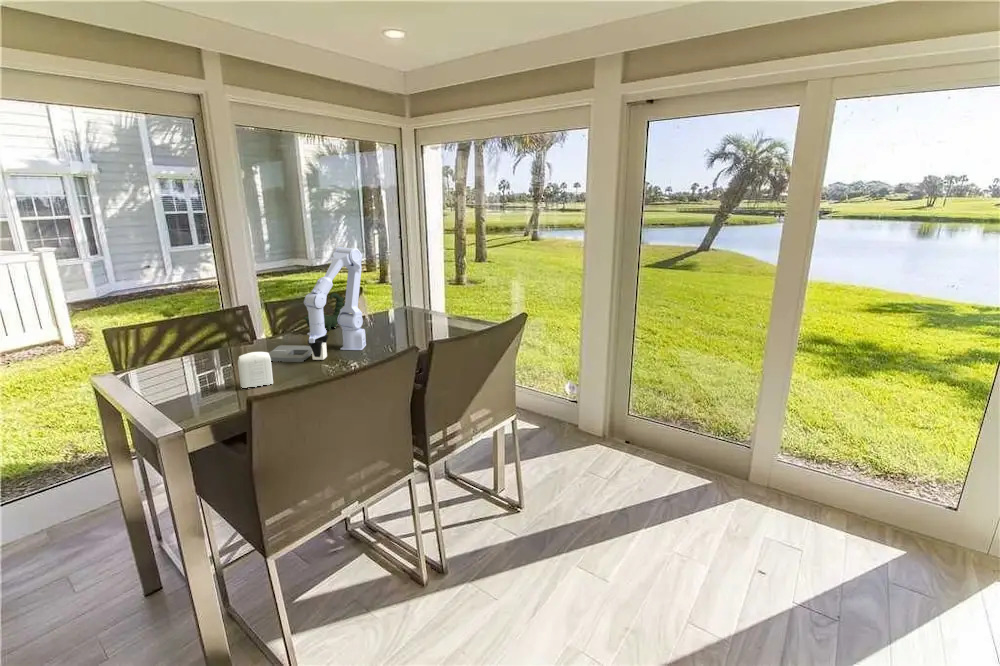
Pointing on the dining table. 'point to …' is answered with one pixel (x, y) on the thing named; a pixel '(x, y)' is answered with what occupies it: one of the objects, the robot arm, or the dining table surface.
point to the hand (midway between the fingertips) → (319, 354)
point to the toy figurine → (331, 320)
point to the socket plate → (290, 353)
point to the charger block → (323, 353)
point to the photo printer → (255, 369)
